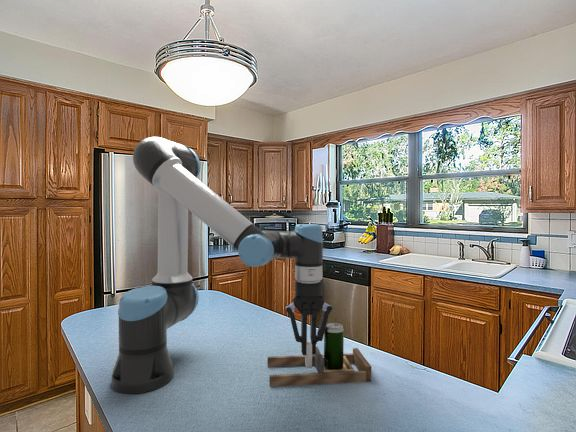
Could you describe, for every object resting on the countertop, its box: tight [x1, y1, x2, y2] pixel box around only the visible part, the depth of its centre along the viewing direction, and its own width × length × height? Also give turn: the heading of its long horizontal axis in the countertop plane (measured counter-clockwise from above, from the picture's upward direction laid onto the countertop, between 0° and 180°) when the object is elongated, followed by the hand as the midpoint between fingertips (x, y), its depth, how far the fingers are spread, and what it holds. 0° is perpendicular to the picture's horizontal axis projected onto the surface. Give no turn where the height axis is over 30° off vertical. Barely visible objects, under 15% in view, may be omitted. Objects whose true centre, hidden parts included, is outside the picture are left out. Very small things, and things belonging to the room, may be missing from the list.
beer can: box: [323, 322, 345, 370], centre depth 95 cm, size 5×5×12 cm
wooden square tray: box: [314, 346, 355, 373], centre depth 95 cm, size 9×9×5 cm
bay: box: [266, 347, 372, 388], centre depth 94 cm, size 27×12×4 cm, turn 96°
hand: (308, 366), depth 94 cm, fingers closed
